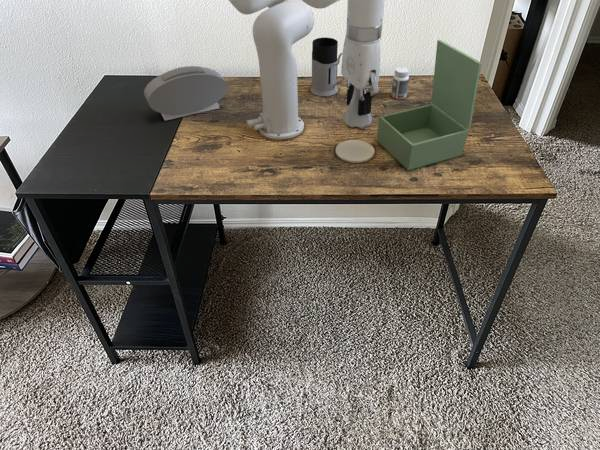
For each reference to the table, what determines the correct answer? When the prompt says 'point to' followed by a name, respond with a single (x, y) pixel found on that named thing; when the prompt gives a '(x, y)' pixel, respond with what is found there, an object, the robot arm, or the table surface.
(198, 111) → the alarm clock
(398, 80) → the pill bottle
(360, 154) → the coaster
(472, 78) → the box lid
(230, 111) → the table surface
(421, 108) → the box
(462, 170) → the table surface
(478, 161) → the table surface
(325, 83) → the glass holder
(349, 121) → the flask
